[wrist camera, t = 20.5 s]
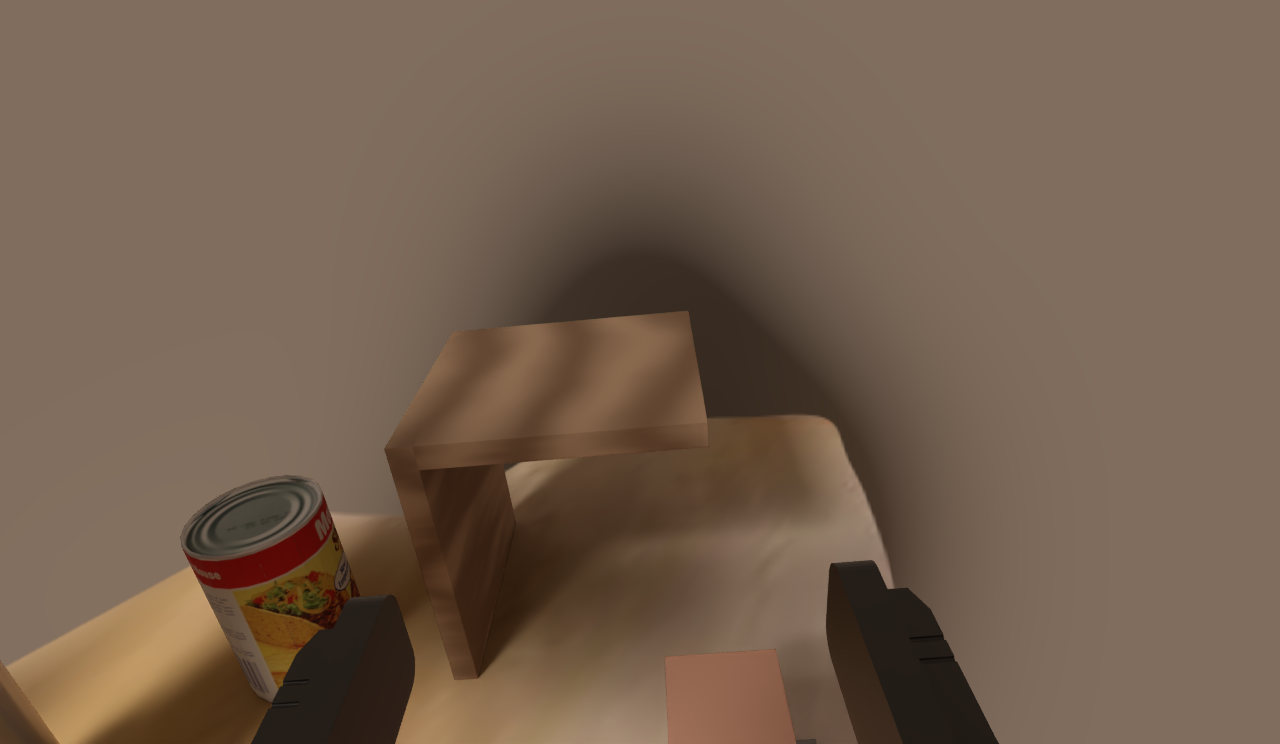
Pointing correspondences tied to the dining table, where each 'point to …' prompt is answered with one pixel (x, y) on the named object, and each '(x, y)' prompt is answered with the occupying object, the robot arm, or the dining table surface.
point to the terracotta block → (727, 699)
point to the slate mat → (806, 741)
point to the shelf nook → (527, 440)
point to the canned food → (269, 571)
